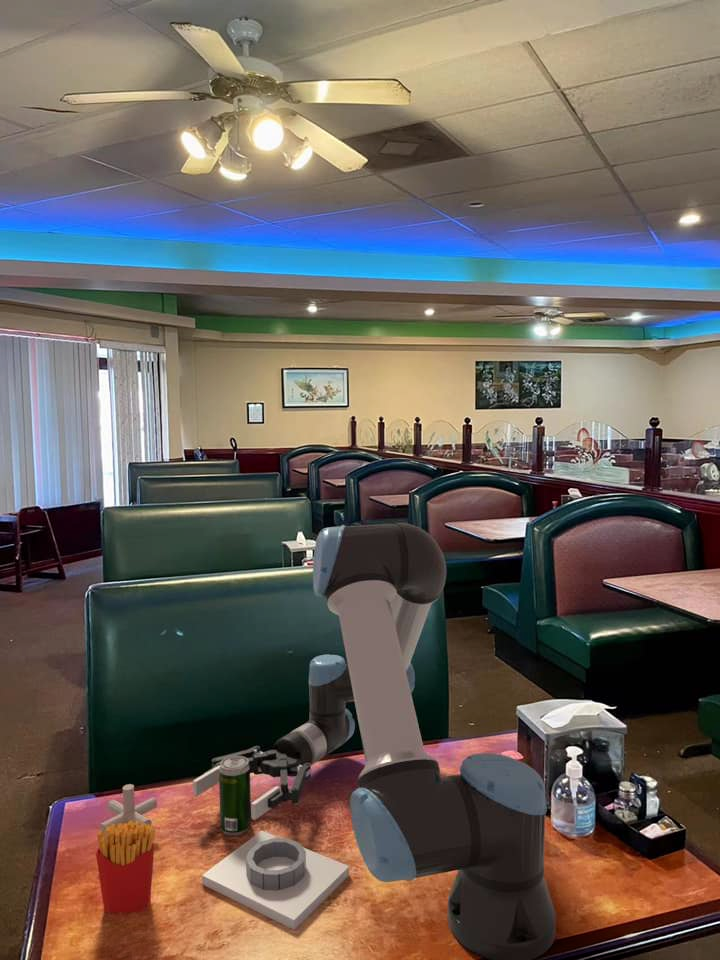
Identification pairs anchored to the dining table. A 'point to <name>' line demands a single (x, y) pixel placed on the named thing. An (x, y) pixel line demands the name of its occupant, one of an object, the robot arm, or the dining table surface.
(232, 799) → the beer can
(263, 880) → the holder
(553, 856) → the dining table surface
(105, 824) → the pipe connector
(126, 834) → the french fries
